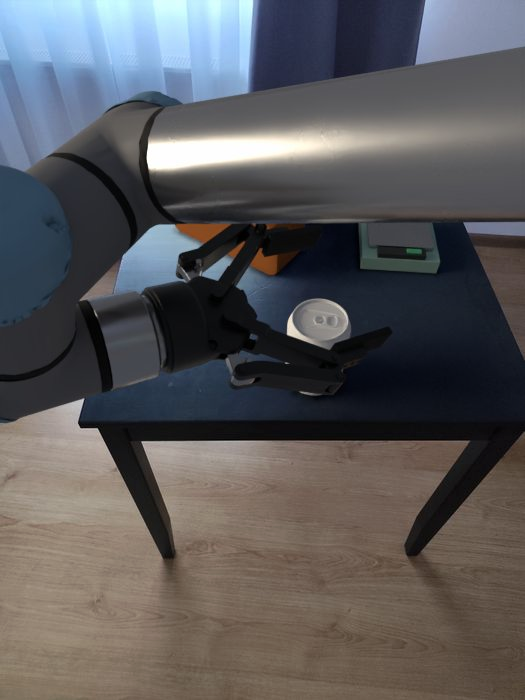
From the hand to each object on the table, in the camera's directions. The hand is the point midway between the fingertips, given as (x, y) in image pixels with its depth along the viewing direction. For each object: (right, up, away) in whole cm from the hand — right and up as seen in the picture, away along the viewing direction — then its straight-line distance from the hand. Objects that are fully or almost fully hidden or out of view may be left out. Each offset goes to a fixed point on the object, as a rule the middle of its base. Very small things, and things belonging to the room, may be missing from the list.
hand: (349, 283), depth 49 cm
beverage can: (-2, -11, +20) cm, 23 cm away
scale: (+15, +12, +37) cm, 42 cm away
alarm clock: (-14, +13, +39) cm, 43 cm away
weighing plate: (+15, +14, +36) cm, 42 cm away
